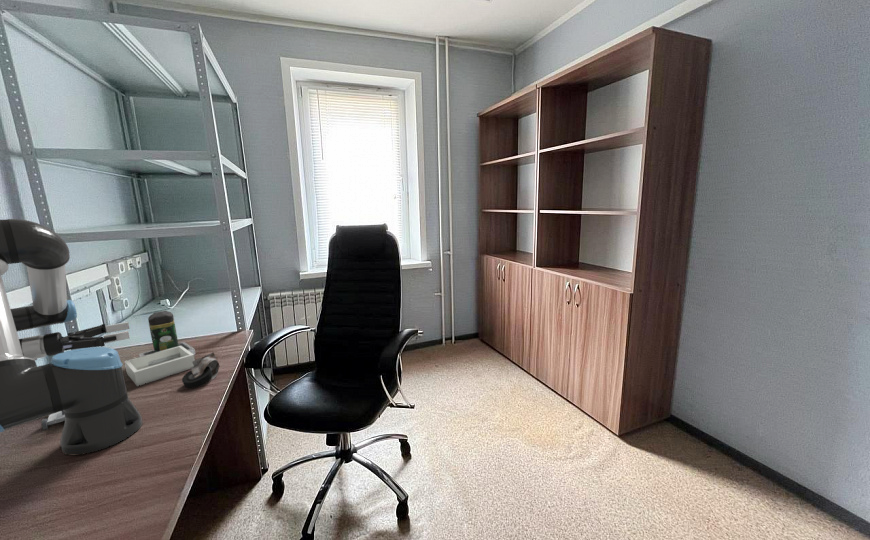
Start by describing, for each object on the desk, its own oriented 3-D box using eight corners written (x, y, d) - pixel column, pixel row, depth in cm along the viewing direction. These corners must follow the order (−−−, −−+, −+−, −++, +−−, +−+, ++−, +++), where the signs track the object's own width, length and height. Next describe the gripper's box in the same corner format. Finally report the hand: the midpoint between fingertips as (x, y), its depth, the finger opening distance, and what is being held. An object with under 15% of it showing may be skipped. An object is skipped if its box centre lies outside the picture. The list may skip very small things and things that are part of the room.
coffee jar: (155, 356, 138) (147, 312, 135) (179, 350, 143) (172, 308, 140) (155, 364, 131) (146, 317, 128) (181, 358, 136) (173, 313, 133)
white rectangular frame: (195, 354, 139) (194, 348, 138) (148, 368, 127) (147, 362, 127) (185, 347, 147) (184, 341, 147) (140, 359, 136) (139, 353, 135)
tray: (196, 367, 127) (193, 354, 126) (137, 386, 114) (134, 372, 113) (183, 357, 136) (180, 345, 136) (127, 374, 123) (124, 361, 123)
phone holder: (95, 386, 96) (33, 402, 88) (102, 418, 97) (41, 437, 90) (97, 366, 109) (43, 379, 101) (104, 394, 111) (51, 409, 103)
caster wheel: (190, 397, 111) (183, 383, 118) (227, 378, 118) (219, 366, 125) (182, 382, 108) (176, 367, 115) (221, 363, 115) (213, 351, 122)
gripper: (53, 345, 125) (130, 330, 139) (40, 368, 106) (130, 349, 120) (49, 325, 124) (127, 312, 137) (34, 346, 105) (126, 328, 119)
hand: (129, 329), depth 129 cm, fingers open, 13 cm apart
